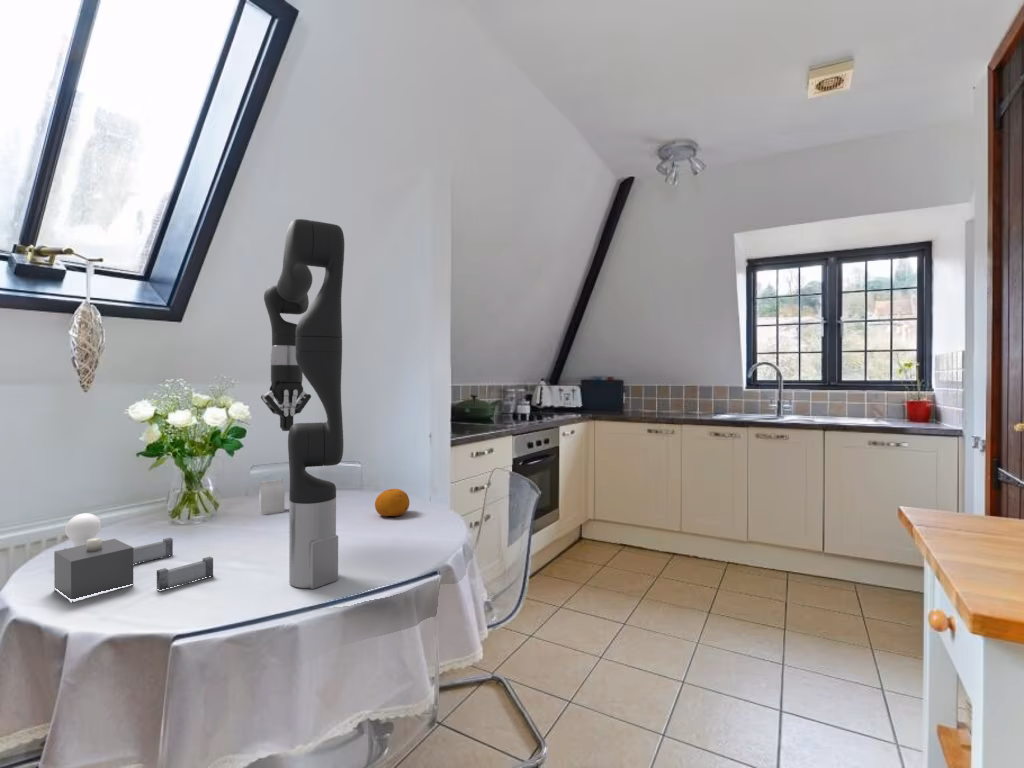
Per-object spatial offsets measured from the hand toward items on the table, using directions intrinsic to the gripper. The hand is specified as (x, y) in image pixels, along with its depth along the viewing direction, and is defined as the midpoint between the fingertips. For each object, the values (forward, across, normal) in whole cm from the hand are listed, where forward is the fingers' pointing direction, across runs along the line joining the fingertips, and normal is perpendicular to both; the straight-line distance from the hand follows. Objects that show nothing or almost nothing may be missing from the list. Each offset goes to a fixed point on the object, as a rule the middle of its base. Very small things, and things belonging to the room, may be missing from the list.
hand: (286, 430), depth 133 cm
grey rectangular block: (+29, +13, +32) cm, 45 cm away
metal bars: (+29, -27, +2) cm, 40 cm away
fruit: (+29, +34, -1) cm, 45 cm away
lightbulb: (+29, -36, +24) cm, 52 cm away
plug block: (+29, -39, +3) cm, 49 cm away
